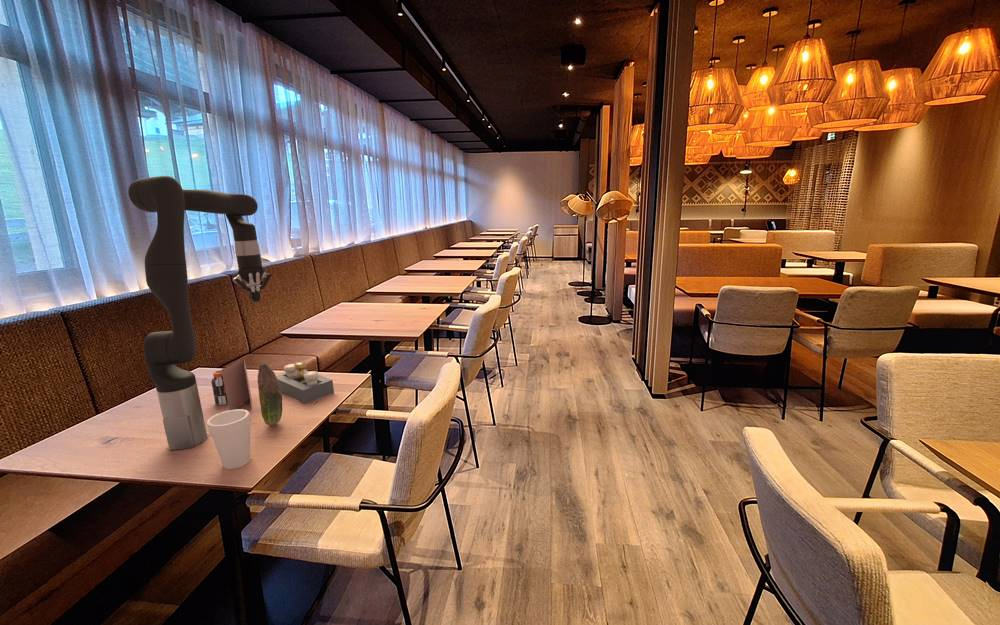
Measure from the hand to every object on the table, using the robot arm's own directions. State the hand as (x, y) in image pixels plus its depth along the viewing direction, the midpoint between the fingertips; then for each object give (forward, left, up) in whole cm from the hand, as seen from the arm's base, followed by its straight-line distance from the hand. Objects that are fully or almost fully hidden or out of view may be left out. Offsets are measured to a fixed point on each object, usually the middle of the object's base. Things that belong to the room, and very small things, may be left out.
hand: (256, 301), depth 161 cm
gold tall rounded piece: (-8, -14, -29) cm, 33 cm away
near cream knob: (-13, -18, -32) cm, 39 cm away
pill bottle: (-10, +12, -33) cm, 37 cm away
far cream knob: (-3, -9, -32) cm, 33 cm away
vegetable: (-33, -10, -33) cm, 48 cm away
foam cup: (-54, -6, -33) cm, 64 cm away
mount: (-8, -14, -33) cm, 37 cm away
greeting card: (-15, +3, -33) cm, 37 cm away
